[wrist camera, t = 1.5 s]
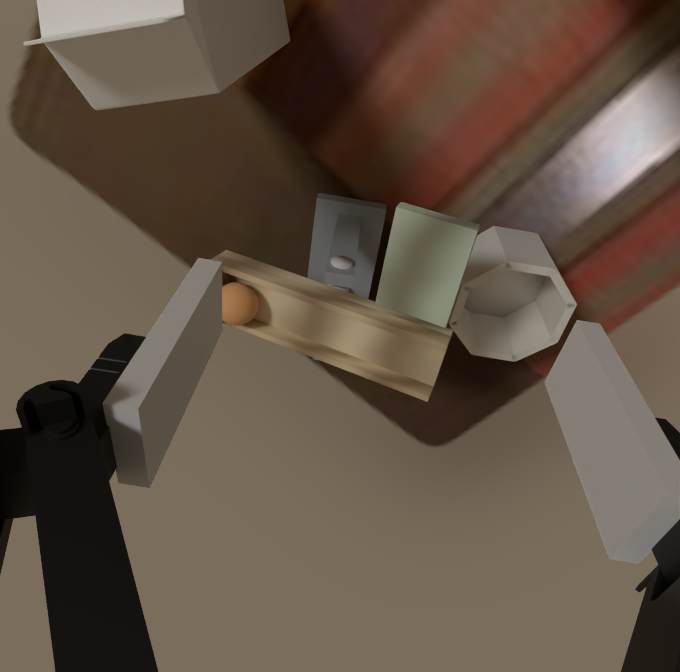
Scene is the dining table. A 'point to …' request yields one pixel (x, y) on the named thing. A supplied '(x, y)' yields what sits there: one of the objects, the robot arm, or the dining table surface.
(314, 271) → the fulcrum
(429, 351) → the lever
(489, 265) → the cup
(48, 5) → the milk
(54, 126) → the dining table surface
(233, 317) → the ball
